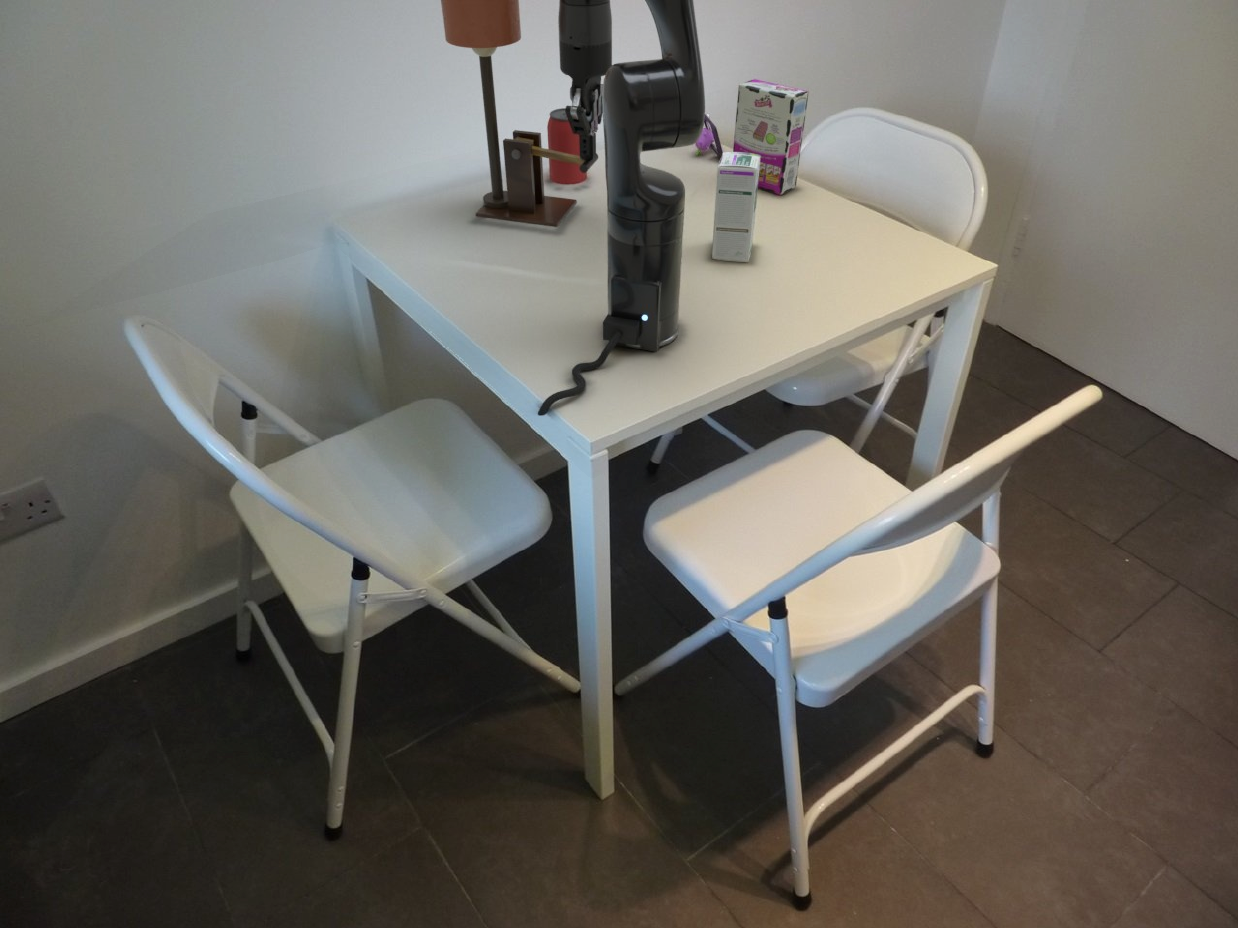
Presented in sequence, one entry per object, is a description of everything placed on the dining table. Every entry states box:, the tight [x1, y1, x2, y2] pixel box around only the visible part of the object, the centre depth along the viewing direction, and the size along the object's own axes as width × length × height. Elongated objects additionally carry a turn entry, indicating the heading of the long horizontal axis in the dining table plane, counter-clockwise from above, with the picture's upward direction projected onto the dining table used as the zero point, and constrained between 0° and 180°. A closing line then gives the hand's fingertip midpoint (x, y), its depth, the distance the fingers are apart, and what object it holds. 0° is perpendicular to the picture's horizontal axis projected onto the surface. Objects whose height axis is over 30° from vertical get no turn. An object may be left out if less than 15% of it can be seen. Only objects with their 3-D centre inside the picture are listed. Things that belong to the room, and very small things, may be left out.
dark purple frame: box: [694, 113, 724, 159], centre depth 159 cm, size 7×5×9 cm
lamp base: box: [475, 129, 578, 228], centre depth 135 cm, size 14×10×13 cm
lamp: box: [440, 0, 522, 209], centre depth 129 cm, size 11×11×32 cm
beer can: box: [546, 107, 588, 185], centre depth 146 cm, size 7×7×12 cm
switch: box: [514, 137, 599, 173], centre depth 131 cm, size 13×6×2 cm, turn 74°
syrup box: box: [711, 151, 760, 263], centre depth 124 cm, size 6×6×14 cm
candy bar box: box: [732, 78, 810, 196], centre depth 144 cm, size 11×5×16 cm, turn 48°
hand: (587, 158), depth 130 cm, fingers closed
